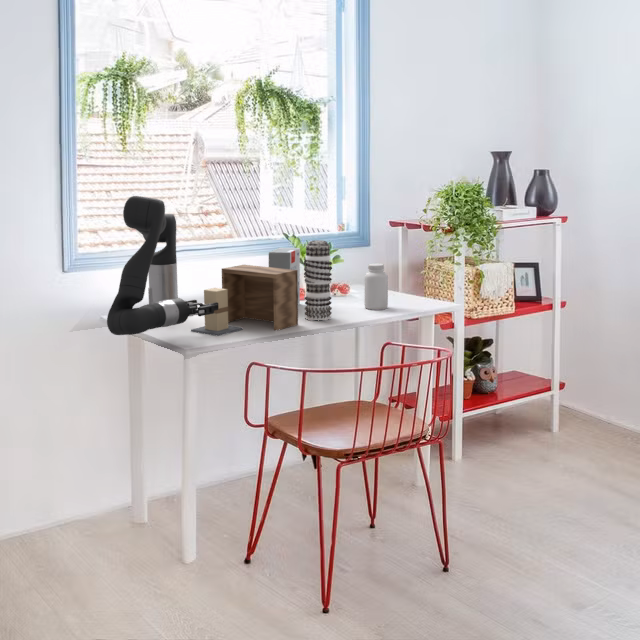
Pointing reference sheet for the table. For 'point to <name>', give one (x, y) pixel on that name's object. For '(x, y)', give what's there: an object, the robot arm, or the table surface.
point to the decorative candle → (317, 280)
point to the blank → (221, 315)
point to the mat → (218, 333)
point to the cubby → (262, 294)
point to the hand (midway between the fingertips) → (206, 304)
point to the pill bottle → (376, 287)
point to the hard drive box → (286, 261)
